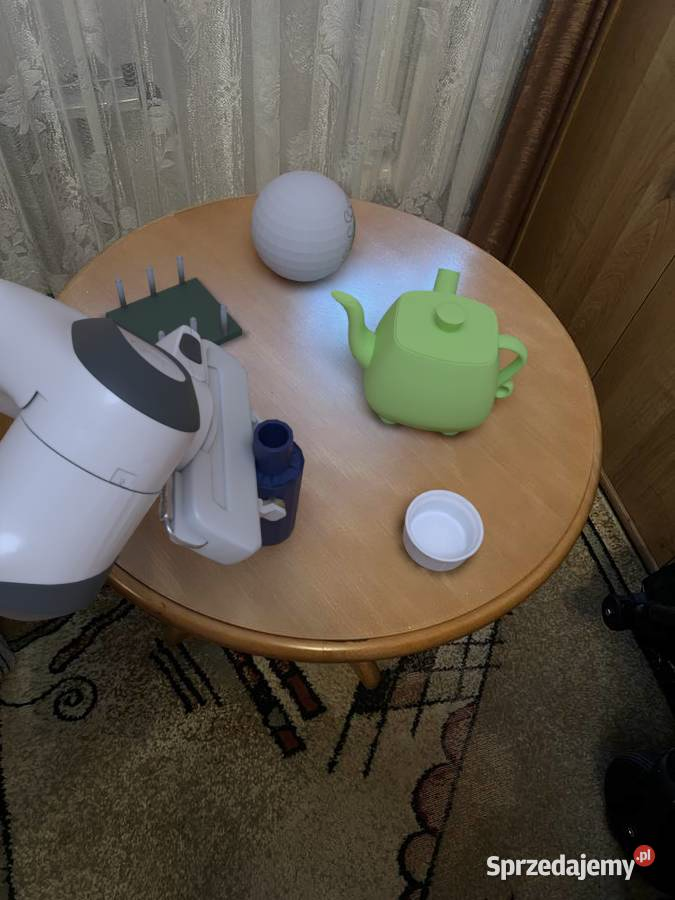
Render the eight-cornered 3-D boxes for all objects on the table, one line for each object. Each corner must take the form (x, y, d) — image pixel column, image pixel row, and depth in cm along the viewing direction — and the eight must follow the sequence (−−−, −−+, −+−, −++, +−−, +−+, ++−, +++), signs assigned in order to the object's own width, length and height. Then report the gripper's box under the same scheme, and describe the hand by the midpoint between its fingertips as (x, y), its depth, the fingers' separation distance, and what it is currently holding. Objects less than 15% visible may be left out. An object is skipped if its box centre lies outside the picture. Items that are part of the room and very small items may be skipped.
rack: (150, 376, 84) (144, 342, 79) (106, 319, 89) (98, 283, 84) (242, 335, 90) (241, 300, 85) (196, 283, 95) (193, 247, 90)
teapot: (500, 341, 96) (541, 254, 83) (500, 461, 83) (547, 381, 70) (333, 308, 95) (347, 216, 82) (308, 424, 83) (320, 336, 70)
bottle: (259, 556, 67) (264, 476, 54) (227, 514, 69) (224, 426, 56) (306, 527, 70) (321, 443, 56) (273, 486, 72) (281, 397, 59)
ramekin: (485, 564, 75) (498, 547, 71) (416, 586, 72) (425, 570, 69) (452, 499, 79) (462, 481, 76) (386, 518, 77) (393, 500, 73)
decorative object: (344, 310, 95) (358, 223, 83) (242, 294, 95) (241, 205, 82) (352, 244, 104) (366, 157, 92) (258, 230, 103) (260, 140, 91)
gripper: (189, 520, 45) (315, 566, 55) (185, 309, 56) (291, 379, 66) (131, 552, 48) (260, 590, 58) (138, 346, 59) (246, 407, 69)
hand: (276, 476), depth 62 cm, fingers closed on bottle, 6 cm apart
